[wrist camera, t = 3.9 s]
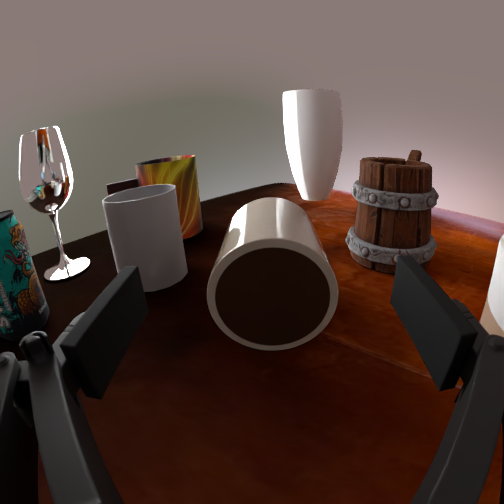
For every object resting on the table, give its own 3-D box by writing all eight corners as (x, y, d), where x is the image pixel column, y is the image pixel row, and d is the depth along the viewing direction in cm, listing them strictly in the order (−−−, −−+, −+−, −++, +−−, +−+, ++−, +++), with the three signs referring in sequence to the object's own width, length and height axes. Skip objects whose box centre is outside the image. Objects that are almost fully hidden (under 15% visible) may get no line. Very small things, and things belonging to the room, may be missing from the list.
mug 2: (322, 259, 36) (334, 130, 32) (371, 243, 46) (381, 147, 42) (413, 287, 28) (434, 138, 24) (440, 262, 38) (455, 156, 34)
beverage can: (63, 315, 28) (30, 205, 23) (19, 352, 22) (-28, 232, 17) (30, 304, 30) (1, 209, 25) (-9, 334, 24) (-47, 232, 19)
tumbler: (229, 282, 33) (222, 198, 29) (314, 280, 32) (317, 196, 29) (213, 351, 23) (198, 240, 19) (332, 349, 22) (344, 237, 19)
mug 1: (115, 245, 46) (101, 172, 42) (175, 220, 57) (167, 156, 52) (151, 256, 41) (136, 169, 37) (214, 225, 52) (207, 154, 47)
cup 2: (352, 210, 55) (351, 93, 47) (328, 226, 48) (325, 87, 39) (304, 203, 61) (300, 96, 53) (274, 216, 54) (267, 92, 46)
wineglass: (94, 254, 43) (71, 125, 36) (87, 276, 36) (57, 122, 29) (50, 264, 41) (25, 138, 33) (38, 286, 34) (4, 139, 26)
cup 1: (200, 274, 35) (189, 187, 31) (135, 300, 30) (114, 207, 27) (168, 254, 41) (157, 182, 37) (113, 274, 37) (96, 197, 33)
